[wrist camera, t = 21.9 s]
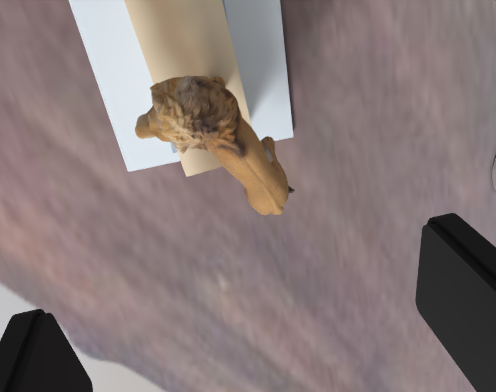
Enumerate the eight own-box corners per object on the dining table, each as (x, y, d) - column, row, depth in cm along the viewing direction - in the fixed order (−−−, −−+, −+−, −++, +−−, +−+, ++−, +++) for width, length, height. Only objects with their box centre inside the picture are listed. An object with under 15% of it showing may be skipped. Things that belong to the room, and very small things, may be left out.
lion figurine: (130, 92, 28) (115, 139, 20) (181, 33, 26) (185, 59, 19) (270, 207, 34) (299, 276, 27) (315, 165, 33) (360, 225, 25)
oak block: (208, -26, 30) (216, -25, 25) (246, 130, 37) (258, 156, 32) (131, -6, 30) (123, 0, 25) (184, 147, 37) (186, 176, 32)
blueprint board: (271, -58, 31) (274, -58, 30) (291, 134, 39) (293, 137, 38) (63, -21, 30) (60, -21, 29) (129, 168, 38) (128, 172, 37)
